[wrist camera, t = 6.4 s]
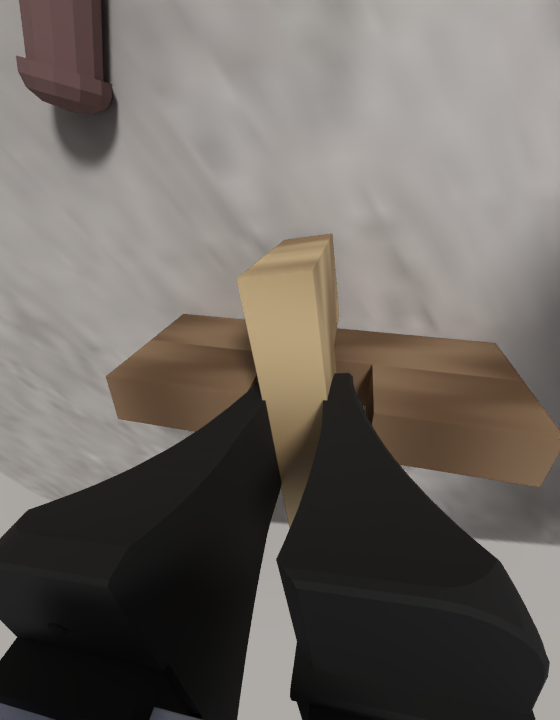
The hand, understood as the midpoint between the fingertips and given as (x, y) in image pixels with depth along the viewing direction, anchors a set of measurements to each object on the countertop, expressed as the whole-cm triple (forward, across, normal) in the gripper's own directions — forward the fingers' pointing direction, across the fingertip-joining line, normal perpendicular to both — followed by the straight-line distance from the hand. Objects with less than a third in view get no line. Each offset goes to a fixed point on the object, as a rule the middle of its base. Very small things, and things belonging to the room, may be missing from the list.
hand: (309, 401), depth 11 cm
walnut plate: (+4, 0, 0) cm, 4 cm away
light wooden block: (+3, 0, 0) cm, 3 cm away
